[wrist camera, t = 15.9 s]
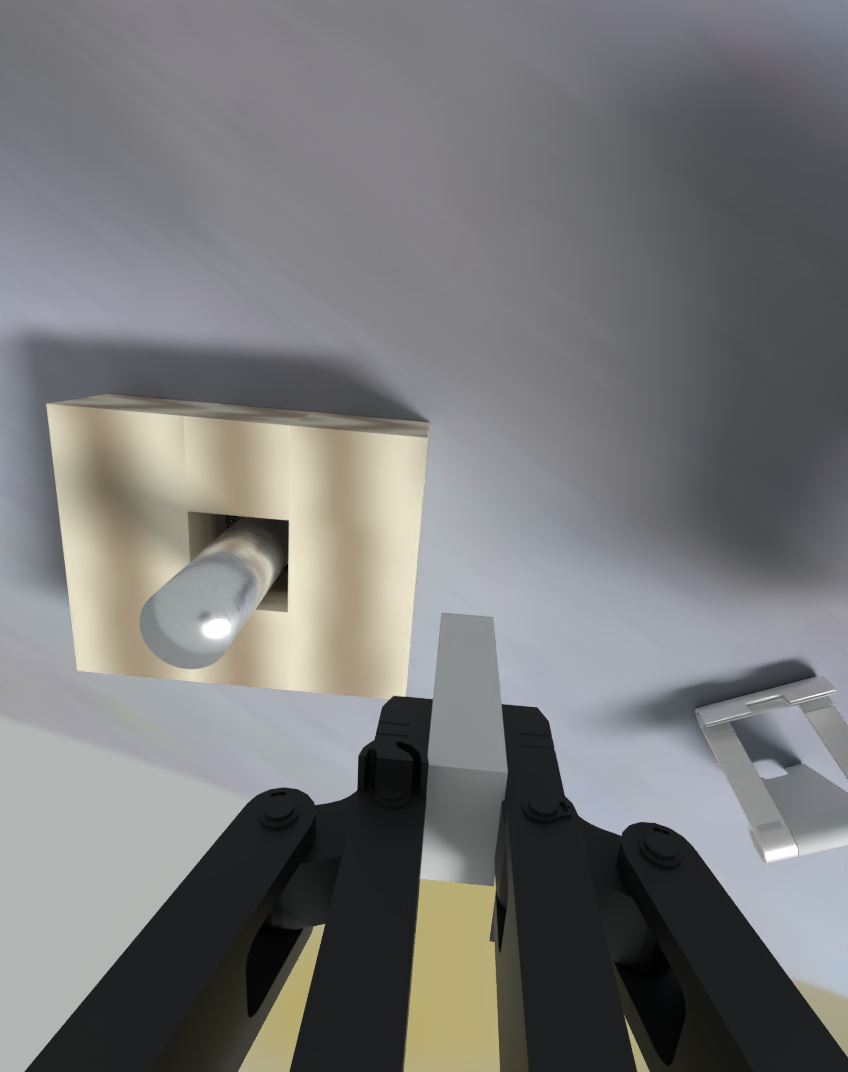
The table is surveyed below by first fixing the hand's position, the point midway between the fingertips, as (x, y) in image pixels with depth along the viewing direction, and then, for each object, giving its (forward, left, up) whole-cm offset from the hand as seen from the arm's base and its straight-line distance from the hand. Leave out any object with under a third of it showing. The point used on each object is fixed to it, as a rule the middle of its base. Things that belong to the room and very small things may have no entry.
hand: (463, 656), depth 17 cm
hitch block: (+12, +4, -22) cm, 25 cm away
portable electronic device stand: (-24, +16, -22) cm, 36 cm away
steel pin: (+12, +4, -22) cm, 25 cm away
